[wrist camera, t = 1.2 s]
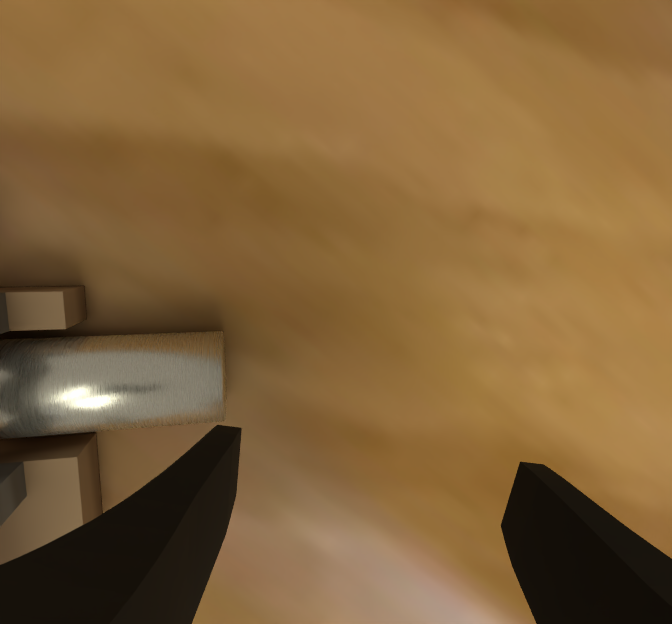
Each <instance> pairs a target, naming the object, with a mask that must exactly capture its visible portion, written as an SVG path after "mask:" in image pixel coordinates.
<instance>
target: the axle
mask: <svg viewBox="0 0 672 624" xmlns="http://www.w3.org/2000/svg"><path fill="white" fill-rule="evenodd" d="M225 420H226V365H225V344H224V334H223V331H209V332H184V333H159V334H134V335H108V336H83V337H58V338H33V339H8V340H0V439H7V438H19V437H32V436H45V435H58V434H71V433H83V432H96V431H109V430H122V429H135V428H147V427H160V426H173V425H186V424H199V423H211V422H224V421H225Z"/></svg>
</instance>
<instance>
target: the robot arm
mask: <svg viewBox="0 0 672 624" xmlns="http://www.w3.org/2000/svg"><path fill="white" fill-rule="evenodd" d="M241 429H242V428H238V427H230V426H222V425H217V426H216V427H214V428H213V429H212V430H211V431H209V432H208V433H207V434H206V435H205V436H204V437H203V438H202V439H201V440H200V441H199V442H197V443H196V444H195V445H194V446H193V447H192V448H191V449H190V450H188V451H187V452H186V453H185V454H184V455H183V456H181V457H180V458H179V459H178V460H177V461H175V462H174V463H173V464H172V465H171V466H169V467H168V468H167V469H166V470H165V471H163V472H162V473H161V474H160V475H158V476H157V477H155V478H154V479H153V480H151V481H150V482H149V483H147V484H146V485H145V486H143V487H142V488H141V489H139V490H138V491H137V492H135V493H134V494H132V495H131V496H130V497H128V498H127V499H125V500H124V501H122V502H121V503H119V504H118V505H116V506H114V507H113V508H111V509H110V510H108V511H106V512H105V513H103V514H101V515H100V516H98V517H96V518H95V519H93V520H91V521H89V522H88V523H86V524H84V525H82V526H80V527H78V528H76V529H74V530H72V531H70V532H69V533H67V534H65V535H63V536H61V537H59V538H57V539H55V540H53V541H52V542H50V543H48V544H46V545H44V546H41V547H39V548H37V549H35V550H33V551H31V552H29V553H26V554H24V555H22V556H20V557H18V558H15V559H13V560H11V561H8V562H6V563H4V564H1V565H0V624H192V621H193V619H194V616H195V613H196V611H197V608H198V606H199V603H200V600H201V598H202V595H203V593H204V590H205V587H206V585H207V582H208V580H209V577H210V575H211V572H212V569H213V567H214V564H215V562H216V559H217V556H218V554H219V551H220V548H221V546H222V543H223V540H224V538H225V535H226V532H227V528H228V525H229V521H230V517H231V513H232V509H233V505H234V501H235V497H236V491H237V478H238V466H239V454H240V442H241ZM501 528H502V532H503V536H504V540H505V543H506V547H507V551H508V554H509V557H510V560H511V564H512V567H513V569H514V572H515V574H516V576H517V579H518V581H519V584H520V586H521V588H522V591H523V593H524V595H525V598H526V600H527V602H528V605H529V607H530V609H531V612H532V614H533V616H534V619H535V621H536V623H537V624H672V559H671V558H670V557H668V556H667V555H665V554H664V553H663V552H661V551H660V550H658V549H657V548H656V547H654V546H653V545H651V544H650V543H648V542H647V541H646V540H644V539H643V538H641V537H640V536H639V535H637V534H636V533H634V532H633V531H632V530H630V529H629V528H628V527H626V526H625V525H624V524H622V523H621V522H620V521H618V520H617V519H616V518H614V517H613V516H612V515H610V514H609V513H608V512H607V511H605V510H604V509H603V508H601V507H600V506H599V505H597V504H596V503H595V502H594V501H592V500H591V499H590V498H588V497H587V496H586V495H584V494H583V493H582V492H581V491H579V490H578V489H577V488H575V487H574V486H573V485H572V484H570V483H569V482H568V481H566V480H565V479H564V478H562V477H561V476H560V475H558V474H557V473H555V472H554V471H553V470H551V469H550V468H548V467H547V466H545V465H543V464H535V463H527V462H520V464H519V467H518V470H517V474H516V477H515V480H514V484H513V487H512V490H511V494H510V497H509V500H508V503H507V507H506V510H505V513H504V517H503V520H502V523H501Z"/></svg>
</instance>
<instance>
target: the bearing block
mask: <svg viewBox="0 0 672 624" xmlns="http://www.w3.org/2000/svg"><path fill="white" fill-rule="evenodd" d="M86 319H87V315H86V302H85V290H84V286H49V287H0V334H2V333H5V332H8V331H22V330H53V329H67V328H69V327H71V326H73V325H76V324H78V323H80V322H82V321H84V320H86ZM101 514H103V513H102V501H101V488H100V476H99V463H98V451H97V439H96V433H88V434H74V435H61V436H48V437H34V438H21V439H8V440H0V565H1V564H4V563H6V562H8V561H11V560H13V559H15V558H18V557H20V556H22V555H24V554H26V553H29V552H31V551H33V550H35V549H37V548H39V547H41V546H44V545H46V544H48V543H50V542H52V541H53V540H55V539H57V538H59V537H61V536H63V535H65V534H67V533H69V532H70V531H72V530H74V529H76V528H78V527H80V526H82V525H84V524H86V523H88V522H89V521H91V520H93V519H95V518H96V517H98V516H100V515H101Z"/></svg>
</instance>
